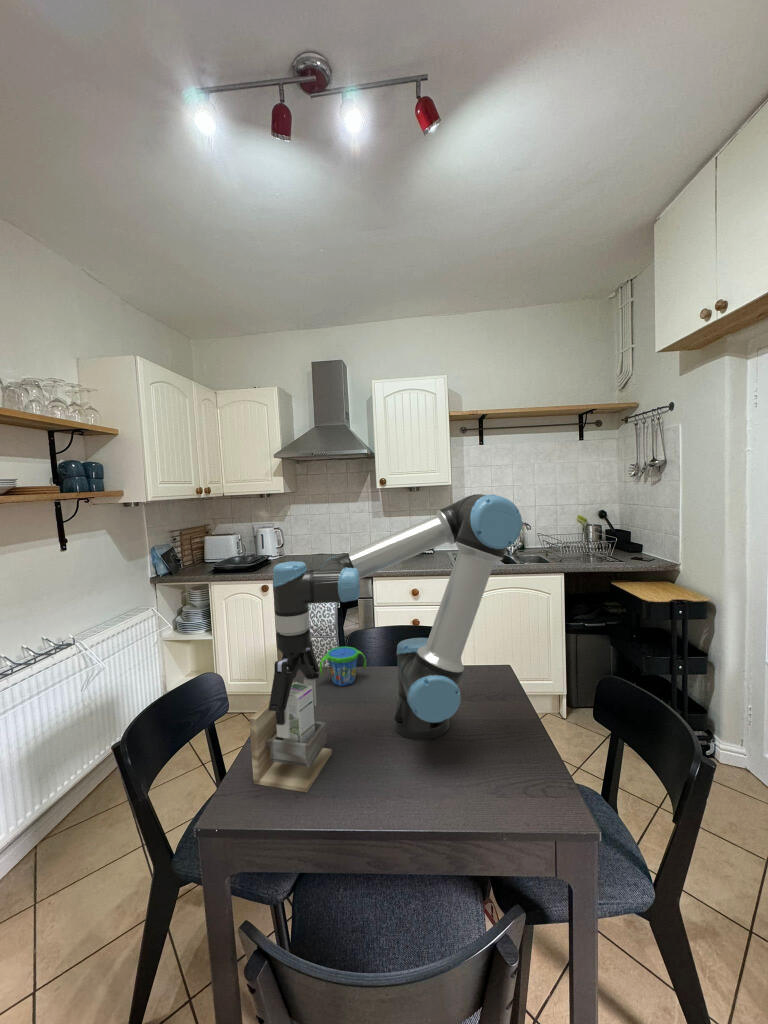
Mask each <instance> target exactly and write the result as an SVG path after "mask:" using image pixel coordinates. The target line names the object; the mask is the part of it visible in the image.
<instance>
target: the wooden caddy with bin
mask: <svg viewBox="0 0 768 1024" xmlns="http://www.w3.org/2000/svg"><path fill="white" fill-rule="evenodd" d="M269 703H270V699H269V700H268V701H267V702H266V703H264V704H263V705H262V706H261V707H260V708H259V709H258V710H257V711H256V712H255V713H254V714H253V715H252V716H251V717H250V718H248V719H249V720H248V721H249V733H250V734H249V735H250V749H251V763H252V779H253V784H254V785H260V786H266V787H271V788H277V789H282V790H283V789H284V790H288V791H289V790H290V791H296V792H301V793H308V791H309V790H310V788H311V787H312V786H313V783H314V782H315V781H316V779H317V778H318V776H319V774H320V773H321V771H322V769H323V768H324V766H325V765H326V763H327V762H328V760H329V758H330V757H331V755H332V753H333V751H332V748H325V746H326V744H327V742H328V736H327V735H328V734H327V733H328V732H327V722H324V721H318V720H317V721H316V720H314V725H315V733H314V735H313V736H312V737H311V739H310V740H309V741H308V743H307V744H306V743H299V742H291V741H284V740H282V737H277V725H276V711H269Z"/></svg>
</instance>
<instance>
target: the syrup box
mask: <svg viewBox="0 0 768 1024" xmlns="http://www.w3.org/2000/svg"><path fill="white" fill-rule="evenodd" d="M286 707H288V708H289V725H290V737H289V738H282V740H284V741H291V742H299V743H306V744H307V743H308V741H309V740H310V739H311V737H312V736H313V735H314V733H315V725H314V721H315V711H314V710H315V709H314V707H315V706H313V690H312V686H311V685H307V684H304V683H302V682H297V681H293V682H292V686H291V690H290V694H289V698H288V702H287V706H286Z"/></svg>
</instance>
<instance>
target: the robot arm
mask: <svg viewBox="0 0 768 1024" xmlns="http://www.w3.org/2000/svg"><path fill="white" fill-rule="evenodd" d="M522 519H523V518H522V515H521V512H520V510H519V508H518V507H517V506H516V504H515V503H514V502H513V501H511V500H510V499H508V498H506V497H503V496H501V495H497V494H479V493H478V494H477V493H476V494H472V495H471V494H470V495H468V496H465V497H462V498H461V499H460V500H457V501H456V502H454V503H452V504H449V505H447V506H445V507H443V508H441V509H439V510H437V511H436V514H435V515H434V516H431V517H430V518H427V519H425V520H423V521H420V522H418V523H415V524H413V525H411V526H408V527H405V528H404V529H401V530H399V531H396V532H394V533H392V534H390V535H387V536H385V537H382V538H380V539H378V540H375V541H373V542H370V543H368V544H366V545H363V546H360V547H358V548H356V549H353V550H351V551H349V552H347V553H344V554H342V555H340V556H339V555H338V556H331V557H330V558H328V559H326V560H325V561H324V562H323V563H322V565H321V566H320V569H316V570H309V569H308V568H307V565H306V564H307V563H305V562H304V561H293V560H292V561H286V562H279V563H277V564H276V565H275V566H274V567H273V569H272V572H273V573H272V583H273V584H272V590H273V592H272V593H273V602H274V619H275V630H276V635H275V636H276V648H277V650H278V651H280V652H281V654H282V659H281V660H280V661H277V660H276V661H274V666H273V667H274V670H273V671H274V673H273V679H272V685H271V686H272V687H271V693H270V698H269V700H270V703H269V711H276V725H277V737H282V738H289V737H290V725H289V708H288V707H286V706H287V702H288V698H289V694H290V690H291V686H292V682H294V679H295V678H296V677H297V675H298V672H299V670H300V671H301V673H302V675H304V677H305V678H304V679H303V684H307V685H311V686H312V690H313V707H316V706H317V694H316V693H317V691H316V679H319V677H320V674H319V673H320V666H319V665H318V661H317V658H316V656H315V655H316V654H315V653H314V652H315V651H314V650H313V643H312V641H311V632H310V629H309V628H310V612H309V605H310V604H323V603H324V604H327V603H347V602H353V601H357V600H359V598H360V597H361V596H360V595H361V587H360V580H361V579H364V578H366V577H369V576H371V575H373V574H376V573H377V572H380V571H382V570H385V569H387V568H389V567H392V566H395V565H396V564H399V563H402V562H404V561H406V560H409V559H410V558H413V557H415V556H417V555H421V554H422V553H424V552H427V551H430V550H433V549H434V548H436V547H439V546H441V545H443V544H446V543H448V544H450V545H453V544H455V545H456V547H457V550H458V553H457V555H456V558H455V561H454V565H453V567H452V569H451V572H450V576H449V579H448V581H447V584H446V588H445V590H444V593H443V595H442V599H441V601H440V604H439V607H438V610H437V613H436V614H435V615H436V616H435V619H434V621H433V624H432V627H431V630H430V633H429V636H428V637H413V638H412V637H411V638H408V639H407V638H406V639H404V640H403V639H402V640H401V641H400V642H398V644H397V646H396V647H397V648H396V653H395V654H396V658H397V660H396V661H397V663H396V664H397V685H398V686H397V687H398V698H397V702H396V704H395V708H394V712H393V716H392V719H393V729H394V730H395V732H397V733H398V734H399V735H401V736H403V737H404V738H408V739H413V740H420V741H421V740H422V741H423V740H432V739H436V738H438V737H441V736H442V735H444V734H445V733H447V731H448V730H449V728H450V718H451V717H453V716H454V715H455V714H456V712H457V711H458V710H459V707H460V704H461V699H462V697H461V689H460V688H459V685H460V682H461V679H462V675H463V673H464V670H465V667H464V664H463V662H462V660H461V658H462V655H463V652H464V650H465V647H466V644H467V642H468V638H469V635H470V633H471V630H472V627H473V625H474V621H475V618H476V616H477V613H478V610H479V608H480V604H481V602H482V599H483V596H484V593H485V591H486V587H487V584H488V582H489V578H490V576H491V573H492V570H493V567H494V565H495V563H498V562H500V561H502V560H503V559H504V557H505V554H506V551H507V548H508V547H510V546H511V545H513V544H514V543H515V542H516V541H517V540H518V539H519V536H520V534H521V532H522V529H523V520H522Z"/></svg>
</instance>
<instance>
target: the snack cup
mask: <svg viewBox="0 0 768 1024" xmlns="http://www.w3.org/2000/svg"><path fill="white" fill-rule="evenodd" d="M359 655H361V656H362V657H363V661H362V662H363V664H362V668H363V669H364V670H366V669H367V659H366V656H365V655H364V653H363V652H362V651H360V650H358V649H357V648H356V647H352V646H338V647H334V648H332V649H329V650H328V651H327V652H326V654H325V655H324V656H322V658H321V660H320V663H319V673H320V675H321V677H323V676H324V674H323V663H324V662H325V661H326V660H328V666H329V671H330V676H331V680H332V684H334V685H335V686H340V687H343V686H348V685H352V684H353V683H354V682H355V680H356V675H357V674H356V673H357V666H358V665H357V664H358V658H359Z"/></svg>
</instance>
